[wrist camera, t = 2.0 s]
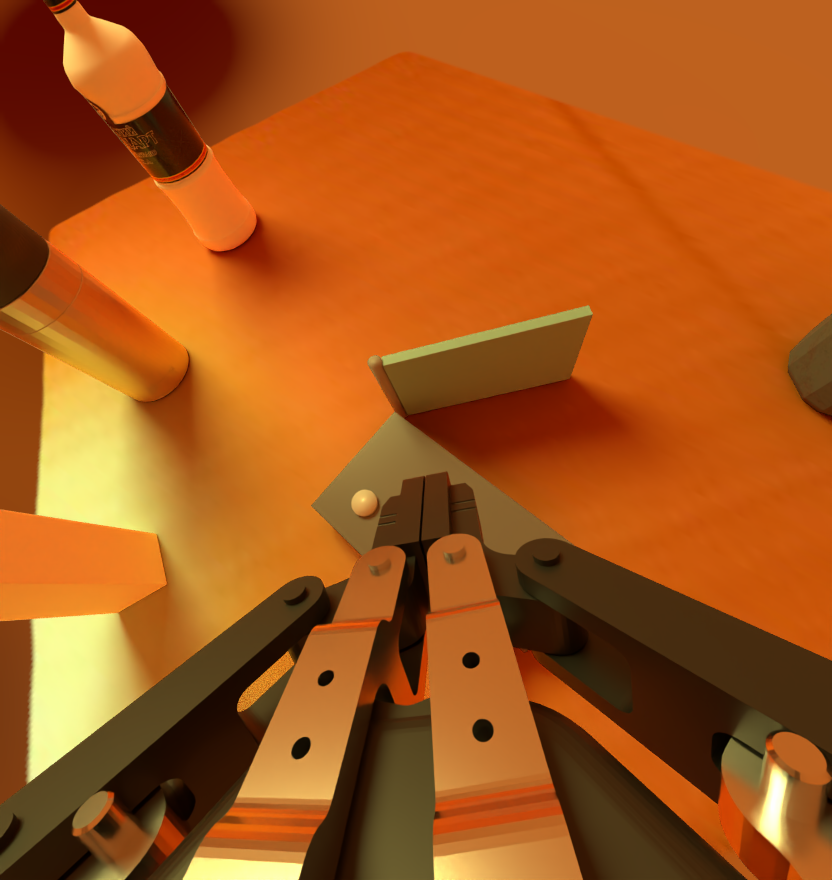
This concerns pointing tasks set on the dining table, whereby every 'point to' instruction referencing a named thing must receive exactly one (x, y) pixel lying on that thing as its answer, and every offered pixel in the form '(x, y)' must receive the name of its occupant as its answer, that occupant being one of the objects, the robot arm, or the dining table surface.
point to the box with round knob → (408, 456)
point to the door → (483, 363)
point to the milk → (73, 567)
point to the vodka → (152, 124)
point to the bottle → (814, 367)
